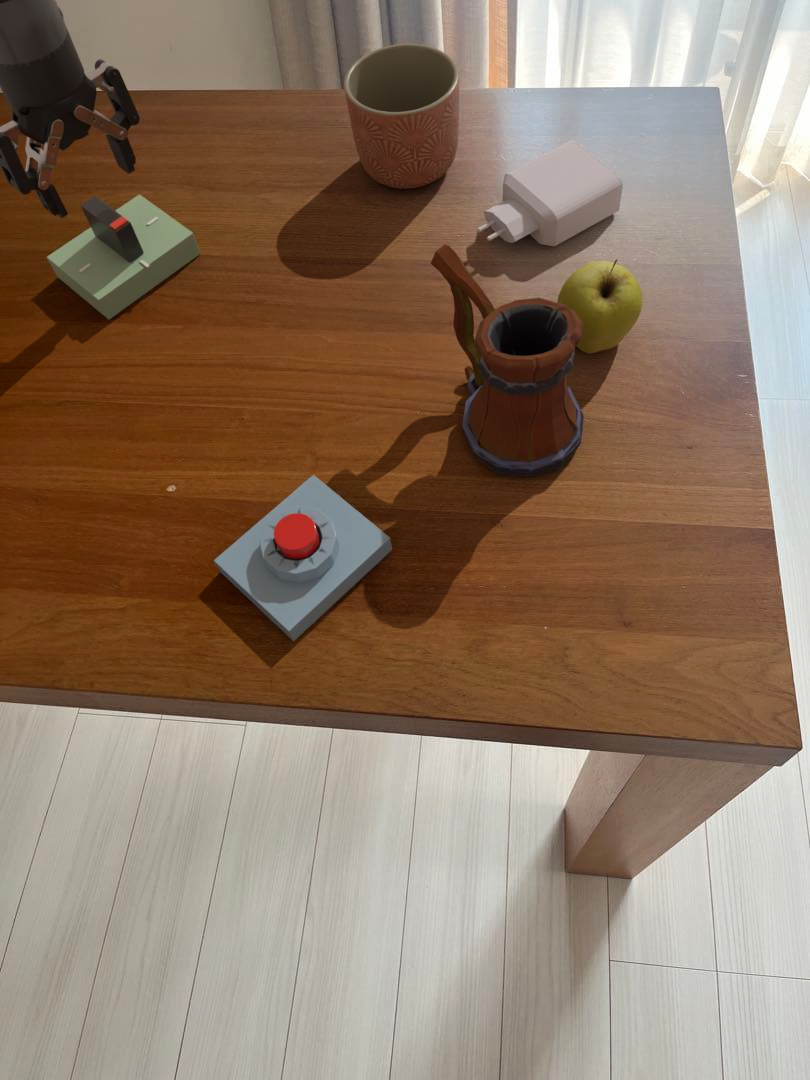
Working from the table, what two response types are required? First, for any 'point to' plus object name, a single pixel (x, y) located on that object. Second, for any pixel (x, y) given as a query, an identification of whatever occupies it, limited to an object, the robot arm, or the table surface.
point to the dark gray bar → (112, 229)
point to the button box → (304, 559)
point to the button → (296, 536)
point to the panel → (112, 276)
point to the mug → (515, 376)
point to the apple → (602, 303)
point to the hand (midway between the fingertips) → (94, 191)
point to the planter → (404, 113)
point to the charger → (555, 196)
